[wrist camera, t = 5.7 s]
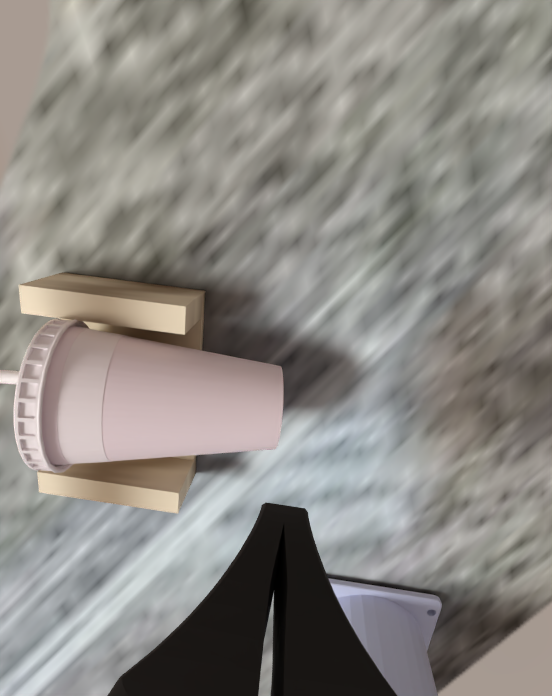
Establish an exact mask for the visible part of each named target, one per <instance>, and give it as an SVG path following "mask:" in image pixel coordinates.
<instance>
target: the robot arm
mask: <svg viewBox="0 0 552 696" xmlns="http://www.w3.org/2000/svg"><path fill="white" fill-rule="evenodd" d="M273 592H274V615H273V668H272V687H271V696H438V694H437V690H436V686H435V682H434V678H433V674H432V670H431V666H430V662H429V658H428V654H427V650H428V647H429V644H430V641H431V638H432V635H433V632H434V629H435V626H436V623H437V620H438V617H439V614H440V611H441V608H442V603H441V600H440V598H439V597H438V596H436V595H432V594H425V593H419V592H412V591H406V590H400V589H393V588H387V587H381V586H374V585H368V584H362V583H355V582H349V581H342V580H336V579H330V578H328V577H327V574H326V572H325V569H324V567H323V564H322V561H321V559H320V556H319V553H318V550H317V547H316V544H315V541H314V538H313V535H312V531H311V527H310V523H309V518H308V512H307V511H306V509H305V508H298V507H292V506H285V505H279V504H272V503H265V504H263V505H262V507H261V511H260V513H259V516H258V518H257V521H256V523H255V525H254V527H253V529H252V531H251V533H250V534H249V536H248V538H247V540H246V541H245V543H244V545H243V546H242V548H241V550H240V551H239V553H238V554H237V556H236V557H235V559H234V560H233V562H232V563H231V565H230V566H229V568H228V569H227V571H226V572H225V573H224V575H223V576H222V577H221V579H220V580H219V581H218V583H217V584H216V585H215V586H214V588H213V589H212V590H211V591H210V593H209V594H208V595H207V596H206V597H205V599H204V600H203V601H202V602H201V603H200V604H199V605H198V606H197V607H196V609H195V610H194V611H193V612H192V613H191V614H190V615H189V616H188V617H187V618H186V619H185V620H184V621H183V622H182V623H181V624H180V625H179V626H178V627H177V628H176V629H175V630H174V631H173V632H172V633H171V634H170V635H169V636H168V637H167V638H166V639H165V640H164V641H162V642H161V643H160V644H159V645H158V646H157V647H156V648H155V649H154V650H153V651H151V652H150V653H149V654H148V655H147V656H145V657H144V658H143V659H142V660H140V661H139V662H138V663H137V664H135V665H134V666H133V667H132V668H131V669H129V670H128V671H127V672H126V673H124V674H123V675H122V676H121V677H120V678H119V679H118V681H117V682H116V684H115V685H114V687H113V688H112V690H111V691H110V693H109V694H108V696H258V690H259V681H260V671H261V661H262V652H263V642H264V637H265V632H266V627H267V622H268V617H269V612H270V607H271V602H272V597H273ZM431 609H432V610H431Z"/></svg>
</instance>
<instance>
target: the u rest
mask: <svg viewBox="0 0 552 696" xmlns="http://www.w3.org/2000/svg"><path fill="white" fill-rule="evenodd" d="M19 293H20V303H21V313H25V314H32V315H40V316H47V317H55V318H60V319H61V320H74V319H76V320H77V321H83V322H84V323H85V324H86V325H87V326H88V327H89V329H93V330H98V331H104V332H109V333H115V334H121V335H126V336H130V337H135V338H140V339H145V340H150V341H155V342H160V343H165V344H171V345H176V346H181V347H186V348H191V349H196V350H201V351H202V343H203V324H204V305H205V291H204V290H196V289H188V288H180V287H173V286H165V285H157V284H149V283H141V282H133V281H126V280H118V279H110V278H102V277H94V276H87V275H79V274H71V273H59V274H55V275H52V276H48V277H45V278H41V279H38V280H34V281H31V282H27V283H24V284H20V285H19ZM196 456H197V455H189V456H176V457H163V458H149V459H136V460H122V461H112V462H97V463H80V464H73V465H72V466H71V467H70V468H69V469H67V470H66V471H65V472H61V473H54V472H53V471H43V470H39V471H38V472H37V474H38V484H39V492H41V493H47V494H54V495H60V496H67V497H74V498H80V499H87V500H93V501H100V502H106V503H113V504H119V505H126V506H133V507H139V508H146V509H152V510H159V511H165V512H172V513H178V512H179V510H180V508H181V506H182V503H183V501H184V499H185V496H186V494H187V492H188V490H189V487H190V485H191V483H192V480H193V478H194V476H195V474H196Z"/></svg>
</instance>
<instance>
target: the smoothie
mask: <svg viewBox="0 0 552 696" xmlns="http://www.w3.org/2000/svg"><path fill="white" fill-rule="evenodd" d="M0 383H4V384H17V386H16V391H15V401H14V430H15V439H16V443H17V446H18V450H19V453H20V455H21V457H22V459H23V461H24V462H25V463H26V465H27V466H28V467H30V468H31V469H33V470H43V471H53V472H54V473H61V472H65V471H66V470H67V469H69V468H70V467H71V466H72V465H73V464H80V463H97V462H112V461H122V460H136V459H149V458H163V457H176V456H189V455H203V454H216V453H230V452H243V451H256V450H270V449H276V448H277V446H278V442H279V438H280V432H281V424H282V414H283V372H282V368H281V366H278V365H273V364H268V363H263V362H258V361H253V360H247V359H242V358H237V357H232V356H227V355H222V354H217V353H212V352H206V351H201V350H196V349H191V348H186V347H181V346H176V345H171V344H165V343H160V342H155V341H150V340H145V339H140V338H135V337H130V336H126V335H121V334H115V333H109V332H104V331H98V330H93V329H89V327H88V326H87V325H86V324H85V323H84V322H83V321H77V320H76V319H74V320H61V319H53V320H50V321H49V322H47V323H46V324H44V325H43V326H42V327H41V328H40V329H39V331H38V332H37V333H36V334H35V336H34V337H33V339H32V341H31V343H30V344H29V346H28V349H27V351H26V353H25V356H24V358H23V361H22V365H21V368H20V371H8V370H0Z"/></svg>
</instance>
